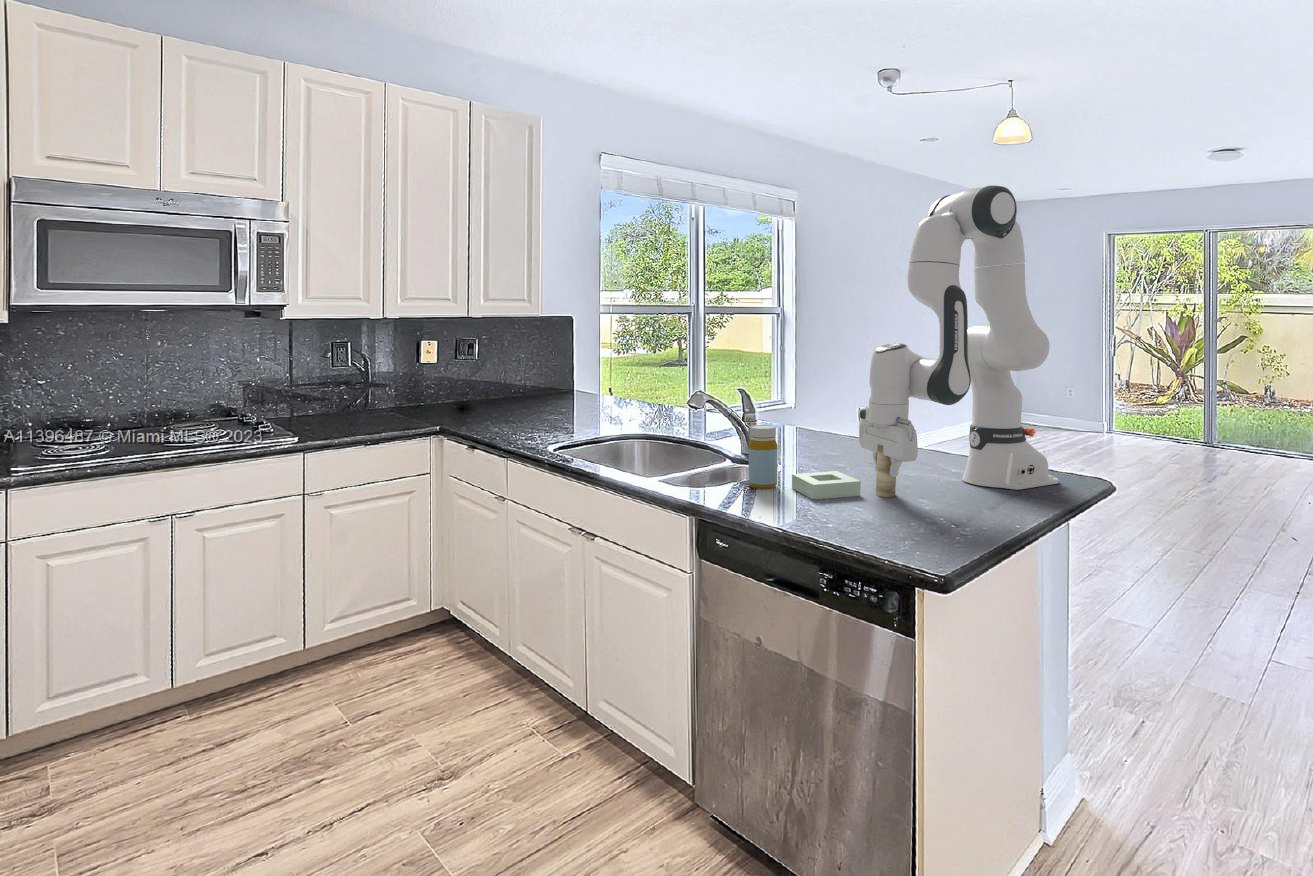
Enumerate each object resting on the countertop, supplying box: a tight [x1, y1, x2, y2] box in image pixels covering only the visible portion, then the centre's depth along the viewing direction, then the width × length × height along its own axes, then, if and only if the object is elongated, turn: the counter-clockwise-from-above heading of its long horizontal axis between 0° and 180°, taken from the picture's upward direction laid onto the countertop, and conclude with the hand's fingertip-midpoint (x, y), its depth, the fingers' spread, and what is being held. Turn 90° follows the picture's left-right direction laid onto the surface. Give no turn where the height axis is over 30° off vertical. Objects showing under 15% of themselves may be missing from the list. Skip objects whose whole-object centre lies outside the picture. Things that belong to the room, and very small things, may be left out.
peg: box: [875, 444, 897, 498], centre depth 182 cm, size 4×4×12 cm
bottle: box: [748, 424, 779, 490], centre depth 192 cm, size 7×7×15 cm
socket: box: [791, 470, 862, 500], centre depth 186 cm, size 12×12×4 cm
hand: (886, 473), depth 182 cm, fingers closed on peg, 4 cm apart
